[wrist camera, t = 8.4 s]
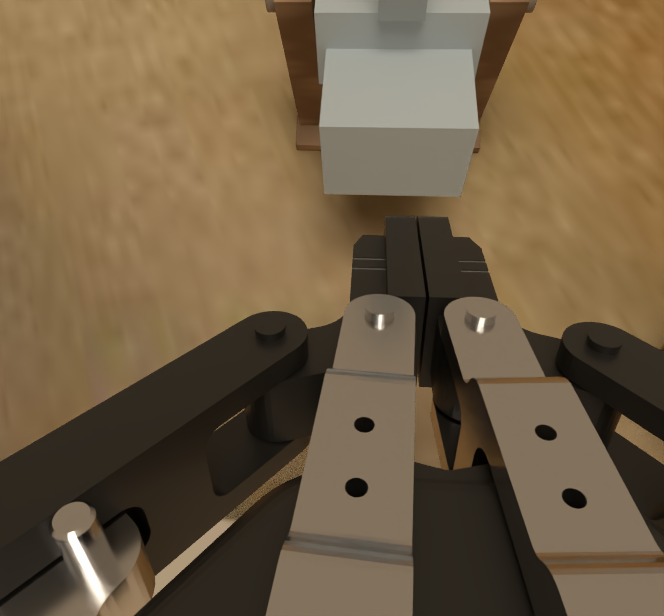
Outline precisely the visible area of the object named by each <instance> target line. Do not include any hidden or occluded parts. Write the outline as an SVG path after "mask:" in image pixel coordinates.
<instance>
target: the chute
mask: <svg viewBox="0 0 664 616" xmlns="http://www.w3.org/2000/svg"><path fill="white" fill-rule="evenodd" d="M489 17H490V6H489V0H315V9H314V19H315V33H316V48H317V62H318V76H319V84H323V89H322V100H321V112H320V123H319V131H320V144H321V157H322V170H323V183H324V194H345V195H393V196H441V197H461V193H462V190H463V186H464V182H465V179H466V175H467V171H468V167H469V164H470V160H471V156H472V153H473V149H474V145H475V142H476V138H477V134H478V131H479V124H478V112H477V101H476V90H475V76H476V72H477V67H478V63H479V59H480V55H481V50H482V46H483V42H484V38H485V33H486V29H487V25H488V21H489Z"/></svg>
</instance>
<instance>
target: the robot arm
mask: <svg viewBox="0 0 664 616" xmlns="http://www.w3.org/2000/svg"><path fill="white" fill-rule="evenodd" d="M417 374H418V379H419V387H432V392H433V399H432V406H431V413H430V414H431V421H432V425H433V430H434V435H435V439H436V444H437V449H438V454H439V458H440V463H441V468H442V469H439V468H435V467H431V466H427V465H424V464H420V463H416V462H414V441H415V396H416V383H417ZM244 408H245V410H244V411H242V412H241V413H240V414H238V415H237V416H235V417H234V418H233V419H231V420H230V421H229V422H227V423H226V424H224V425H223V426H222V427H220V428H219V429H217V428H218V427H219V426H220V425H221V424H223V423H224V422H226V421H227V420H228V419H230V418H231V417H233V416H234V415H235V414H237V413H238V412H240V411H241V410H242V409H244ZM622 414H623V415H624V416H626V417H627V418H629V419H630V420H632V421H634V422H635V423H637V424H638V425H640V426H641V427H643V428H644V429H646V430H647V431H649V432H650V433H652V434H653V435H655V436H657V437H658V438H660V439H661V440H663V441H664V352H662V351H661V350H659V349H657V348H655V347H653V346H651V345H649V344H648V343H646V342H644V341H642V340H640V339H638V338H636V337H635V336H633V335H631V334H629V333H627V332H625V331H623V330H621V329H619V328H616V327H614V326H611V325H607V324H603V323H596V322H582V323H577V324H573V325H571V326H569V327H568V328H566V330H565V331H564V333H563V335H562V339H558V338H553V337H549V336H545V335H541V334H537V333H533V332H530V331H527V330H525V329H523V328H521V325H520V323H519V321H518V319H517V317H516V315H515V314H514V312H513V311H512V310H511V309H510V308H508V307H507V306H505V305H504V304H502V303H500V302H498V299H497V296H496V293H495V290H494V286H493V283H492V280H491V277H490V274H489V273H488V268H487V265H486V263H485V259H484V256H483V253H482V249H481V248H480V247H479V246H478V245H477V244H476V243H475V242H473V241H472V240H471V239H470V238H469V237H453V236H452V232H451V228H450V224H449V220H448V217H421V216H417V218H416V219H415V216H385V222H384V236H379V235H363V236H362V237H361V238H360V239H359V240H358V241H357V242H356V243H355V244H354V248H353V263H352V278H351V293H350V303H349V304H348V305H347V307H346V308H345V311H344V316H343V317H342V318H340V319H339V320H337V321H335V322H333V323H331V324H328V325H325V326H321V327H316V328H311V329H307V327H306V325H305V323H304V322H303V321H302V320H301V319H300V318H299V317H297V316H295V315H293V314H290V313H286V312H281V311H268V312H261V313H257V314H254V315H252V316H249V317H247V318H246V319H244V320H242V321H240V322H239V323H237V324H235V325H234V326H232V327H230V328H228V329H227V330H225V331H223V332H222V333H220V334H218V335H216V336H215V337H213V338H211V339H210V340H208V341H206V342H205V343H203V344H201V345H199V346H198V347H196V348H194V349H193V350H191V351H189V352H187V353H186V354H184V355H182V356H181V357H179V358H177V359H175V360H174V361H172V362H170V363H169V364H167V365H165V366H163V367H162V368H160V369H158V370H157V371H155V372H153V373H151V374H150V375H148V376H146V377H145V378H143V379H141V380H139V381H138V382H136V383H134V384H133V385H131V386H129V387H128V388H126V389H124V390H122V391H121V392H119V393H117V394H116V395H114V396H112V397H110V398H109V399H107V400H105V401H104V402H102V403H100V404H98V405H97V406H95V407H93V408H92V409H90V410H88V411H86V412H85V413H83V414H81V415H80V416H78V417H76V418H74V419H73V420H71V421H69V422H68V423H66V424H64V425H62V426H61V427H59V428H57V429H56V430H54V431H52V432H51V433H49V434H47V435H45V436H44V437H42V438H40V439H39V440H37V441H35V442H33V443H32V444H30V445H28V446H27V447H25V448H23V449H21V450H20V451H18V452H16V453H15V454H13V455H11V456H9V457H8V458H6V459H4V460H3V461H1V462H0V616H664V465H663V464H662V463H660V462H659V461H657V460H656V459H654V458H653V457H651V456H650V455H649V454H647V453H646V452H644V451H643V450H641V449H640V448H638V447H637V446H635V445H634V444H632V443H631V442H630V441H628V440H627V439H625V438H624V437H622V436H621V435H619V434H618V433H616V432H615V429H616V426H617V424H618V422H619V419H620V417H621V415H622ZM216 429H217V430H216ZM214 430H216V431H215V432H214ZM309 442H310V444H309ZM308 444H309V448H308V453H307V457H306V462H305V466H304V471H303V475H301V476H299V477H296V478H294V479H291V480H289V481H287V482H285V483H283V484H281V485H280V486H278V487H276V488H274V489H273V490H271V491H270V492H269V493H267V494H266V495H264V496H263V497H262V498H261V499H260V500H258V501H257V502H256V503H255V504H254V505H253V506H252V507H251V508H250V509H248V510H247V511H246V512H245V513H244V514H243V515H242V516H241V517H240V518H239V519H238V520H237V521H235V522H234V523H233V524H232V525H231V526H230V527H229V528H228V529H227V530H226V531H225V532H224V533H223V534H222V535H220V536H219V537H218V538H217V539H216V540H215V541H214V542H213V543H212V544H211V545H209V546H208V547H207V548H206V549H205V550H204V551H203V552H202V553H201V554H200V555H199V556H198V557H197V558H195V559H194V560H193V561H192V562H191V563H190V564H189V565H188V566H187V567H186V568H185V569H184V570H182V571H181V572H180V573H179V574H178V575H177V576H176V577H175V578H174V579H173V580H172V581H171V582H170V583H168V584H167V585H166V586H165V587H164V588H163V589H162V590H161V591H160V592H159V593H158V594H156V595H155V596H154V597H153V598H152V596H153V593H154V587H155V575H157V574H158V573H159V572H160V571H161V570H162V569H164V568H165V567H166V566H167V565H168V564H170V563H171V562H172V561H173V560H174V559H176V558H177V557H178V556H179V555H180V554H181V553H183V552H184V551H185V550H186V549H187V548H189V547H190V546H191V545H192V544H193V543H194V542H196V541H197V540H198V539H199V538H200V537H202V536H203V535H204V534H205V533H206V532H207V531H209V530H210V529H211V528H212V527H213V526H215V525H216V524H217V523H218V522H219V521H220V520H222V519H223V518H224V517H225V516H226V515H228V514H229V513H230V512H231V511H232V510H233V509H235V508H236V507H237V506H238V505H239V504H241V503H242V502H243V501H244V500H245V499H246V498H248V497H249V496H250V495H251V494H252V493H253V492H255V491H256V490H257V489H258V488H259V487H261V486H262V485H263V484H264V483H265V482H266V481H268V480H269V479H270V478H271V477H272V476H274V475H275V474H276V473H277V472H278V471H279V470H281V469H282V468H283V467H284V466H285V465H287V464H288V463H289V462H290V461H291V460H292V459H294V458H295V457H296V456H297V455H298V454H299V453H301V452H302V451H303V450H304V449H305V448H306V447H307V445H308Z"/></svg>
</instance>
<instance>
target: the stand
mask: <svg viewBox="0 0 664 616" xmlns="http://www.w3.org/2000/svg"><path fill="white" fill-rule="evenodd" d="M536 1H537V0H489V6H490V17H489V21H488V25H487V29H486V33H485V38H484V42H483V46H482V50H481V55H480V59H479V63H478V67H477V72H476V76H475V90H476V101H477V112H478V124H479V131H478V134H477V138H476V142H475V145H474V149H473V153H478V151H479V149H480V118H481V116H482V114H483V111H484V109H485V107H486V104H487V102H488V99H489V97H490V95H491V92H492V90H493V88H494V85H495V83H496V80H497V78H498V76H499V73H500V71H501V69H502V66H503V64H504V62H505V59H506V57H507V54H508V52H509V50H510V47H511V45H512V43H513V40H514V38H515V35H516V33H517V31H518V28H519V26H520V24H521V21H522V19H523V16H524V14H525V13H531V12H532V11H533V10H534V8H535V5H536ZM265 2H266V8H267V11H268V12H276V16H277V20H278V25H279V30H280V34H281V39H282V43H283V48H284V53H285V57H286V62H287V66H288V71H289V76H290V80H291V85H292V90H293V94H294V99H295V103H296V108H297V113H298V116H297V134H296V148H297V150H321V144H320V131H319V123H320V112H321V100H322V89H323V84H319V76H318V62H317V48H316V33H315V19H314V9H315V0H265Z"/></svg>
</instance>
